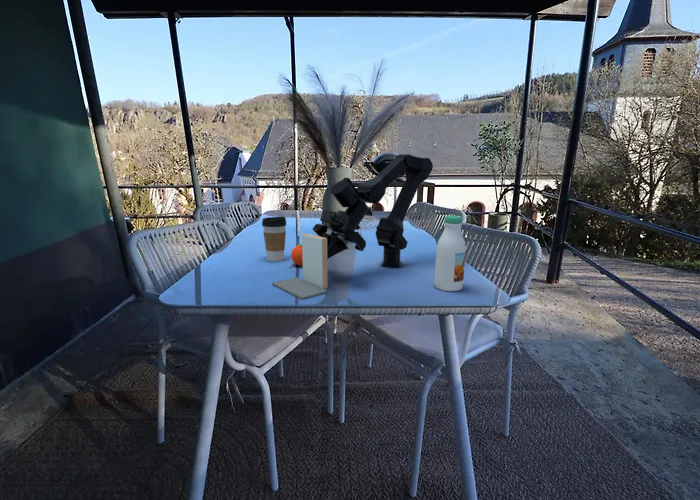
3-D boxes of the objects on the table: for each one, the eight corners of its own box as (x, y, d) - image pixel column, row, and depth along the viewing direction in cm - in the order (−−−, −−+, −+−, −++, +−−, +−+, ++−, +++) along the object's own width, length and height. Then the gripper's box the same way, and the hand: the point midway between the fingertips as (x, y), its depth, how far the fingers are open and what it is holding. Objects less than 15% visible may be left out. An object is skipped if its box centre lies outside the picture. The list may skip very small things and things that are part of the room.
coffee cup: (285, 262, 125) (283, 219, 121) (260, 262, 125) (258, 219, 121) (289, 256, 133) (288, 215, 129) (266, 256, 133) (264, 215, 129)
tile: (308, 280, 106) (307, 233, 103) (327, 287, 100) (327, 238, 97) (303, 281, 105) (301, 234, 102) (321, 289, 99) (321, 239, 95)
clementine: (288, 262, 125) (288, 242, 123) (308, 260, 127) (308, 241, 125) (293, 268, 117) (293, 247, 116) (314, 266, 120) (314, 246, 118)
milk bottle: (443, 293, 97) (448, 219, 92) (429, 284, 104) (433, 214, 99) (468, 290, 99) (474, 217, 94) (452, 281, 106) (458, 213, 101)
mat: (296, 279, 107) (296, 277, 107) (327, 292, 96) (327, 290, 96) (272, 284, 102) (272, 282, 102) (302, 299, 91) (302, 297, 91)
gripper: (317, 196, 109) (286, 237, 104) (359, 202, 95) (326, 249, 91) (337, 220, 116) (309, 259, 111) (379, 228, 102) (349, 273, 98)
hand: (322, 259), depth 103 cm, fingers closed
